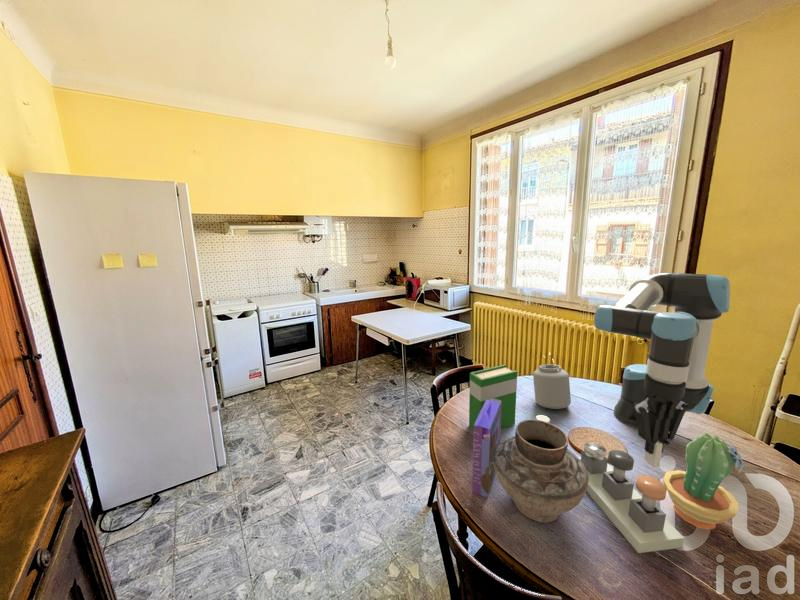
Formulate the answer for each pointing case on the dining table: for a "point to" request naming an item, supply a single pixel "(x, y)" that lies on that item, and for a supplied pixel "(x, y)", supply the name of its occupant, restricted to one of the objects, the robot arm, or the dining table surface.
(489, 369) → the hardback book
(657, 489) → the terracotta plunger
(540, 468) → the ceramic pot
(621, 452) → the middle plunger
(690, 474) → the potted cactus
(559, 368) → the jar
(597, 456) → the plunger
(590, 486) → the console
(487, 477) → the cereal box
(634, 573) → the dining table surface
